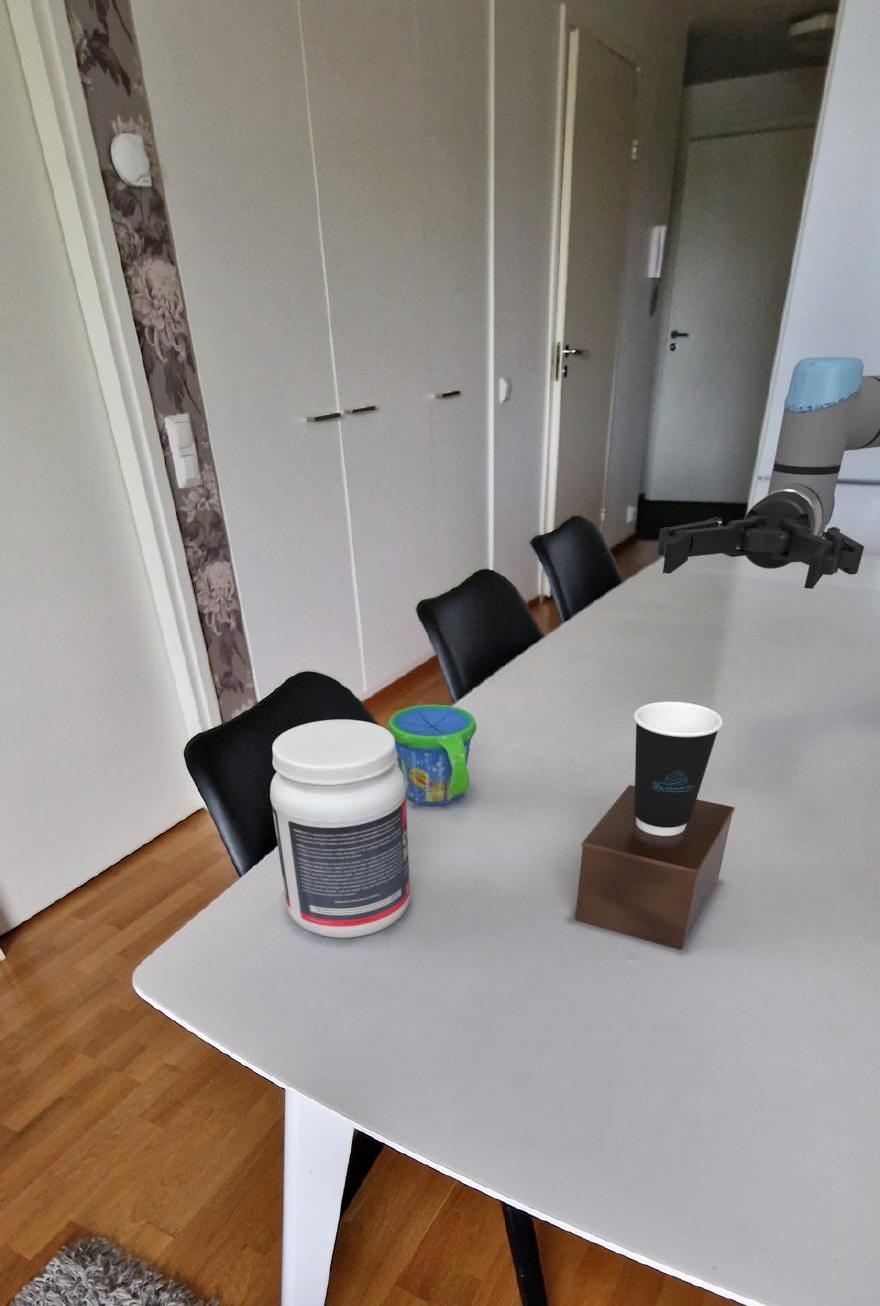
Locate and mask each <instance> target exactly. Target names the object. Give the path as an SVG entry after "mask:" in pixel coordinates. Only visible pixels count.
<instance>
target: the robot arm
mask: <svg viewBox="0 0 880 1306" xmlns="http://www.w3.org/2000/svg"><path fill="white" fill-rule="evenodd" d="M864 368H865V363H864V361H863V360H862V359H861V358H859V357H844V356H842V357H841V356H839V357H838V356H833V357H832V356H829V357H828V356H827V357H805V358H801V360H799V361H797V363H796V364H795V366H794V368H793V370H792V374H791V379H790V382H789V387H788V391H787V395H786V396H785V399H784V403H783V406H784V407H783V412H782V419H781V424H780V429H779V433H778V434H779V435H778V439H777V445H776V451H775V455H774V461H773V467H772V470H771V475H770V479H769V485H768V490H767V494H766V495H765V496H764V497H763V498H762V499H760V500H759V501H758V502H757V503H755V504H754V505H753V506H752V507H751V508H750V509H749V510H748V512H747V513H746V515H745V516H744V518H743V519H737V520H730V521H729V522H728V523H727V524H726V525H725V526H723V519H722V518H721V517H718V516H714V517H712V518H709V519H706V520H703V521H697V522H692V523H685V524H678V525H673V526H666V527H665V526H664V527H661V528H660V529H659V536H658V543H657V544H658V545H657V551H656V552H657V555H658V556H661V557H663V558H664V559H663V567H662V574H668V575H669V574H672V573H673V572H675V571H676V570H677V569H678V568H680V567H681V566H683V565H684V564H685V563H687V562H688V561H689V558H690V557H700V556H701V557H702V556H709V555H720V554H723V555H724V556H727V557H730V558H735V557H736V558H737V557H745V558H746V559H747V560H748V561H749V562H750V563H752V564H753V565H755V566H757V567H759V568H762V569H767V570H768V569H769V570H772V569H779V568H783V567H786V566H787V565H790V564H791V563H802V564H804V565H807V566H808V570H807V574H806V578H805V582H804V586H803V588H804V589H808V590H809V589H810V590H813V589H814V587H815V586H816V585H817V584H818V582H819V581H820V580H821V578H822V576H825V575H826V576H832V575H834V574H837V573H838V570H841V571H842V572H843V573H844V574H847V575H856V574H858V572H859V568H860V566H861V560H862V557H863V553H864V549H865V546H864V545H863V544H861V543H860V542H858V541H856V540H854V539H853V538H851V537H849V536H847V535H846V534H843V532H841V528H839V527H836V526H831V527H828V528H827V529H826V527H827V525H828V524H830V522H831V520H832V517H833V513H834V509H835V506H836V497H835V492H836V487H837V484H838V479H839V474H840V472H841V468H842V464H843V463H842V462H843V459H844V455H845V452H847V451H858V450H863V449H864V450H865V449H872V448H880V374H878V375H877V374H876V375H863V374H864Z"/></svg>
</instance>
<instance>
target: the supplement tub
mask: <svg viewBox="0 0 880 1306" xmlns="http://www.w3.org/2000/svg"><path fill="white" fill-rule="evenodd" d="M271 748H272V749H271V751H272V760H271V761H272V767H273V769H274V770H275V771H276V772H275V774H274V775H273V777H272V779H271V782H270V788H269V789H270V790H269V792H270V793H269V798H270V802H271V808H272V815H273V822H274V828H275V835H276V843H277V847H278V856H279V857H278V858H279V862H280V870H281V877H282V883H283V891H284V897H285V907H286V909H287V911H288V913H289V915H290V917H291V919H292V920H293V921H294V922H295V923H296V924H297V925H298V926H300V928H303V929H304V930H306V931H308V932H310V933H313V934H316V935H318V936H323V937H327V938H337V939H349V938H350V939H351V938H358V937H363V936H367V935H371V934H373V933H377V932H379V931H381V930H384V929H386V928H388V927H389V926H391V925H392V924H394V923H395V922H397V921H398V920H399V919H400V918H401V917H402V916H403V914H404V913H405V912H406V910H407V908H408V906H409V903H410V900H411V887H410V886H411V885H410V861H409V837H408V814H407V812H408V810H407V809H408V808H407V797H406V783H405V779H404V776H403V773H402V771H401V770H400V768H399V767H398V764H397V763H396V762H397V751H396V744H395V738H394V736H393V735H392V734H391V733H390V731H389V729H388V728H387V729H386V728H385V727H383V726H381V725H379V724H377V723H376V724H375V723H373V722H369V721H364V720H357V719H325V720H317V721H312V722H308V723H304V724H300V725H297V726H295V727H292V728H290V729H288V730H286V731H284V732H282V733H281V734H280V735H278V736H277V737H276V738H275V740H274V741H273V743H272V747H271Z"/></svg>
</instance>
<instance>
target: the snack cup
mask: <svg viewBox="0 0 880 1306" xmlns="http://www.w3.org/2000/svg"><path fill="white" fill-rule="evenodd" d="M387 730H388V731H389V732H390V733H391V734H392V735H393V736H394V738H395V744H396V751H397V760H396V762H397V766H398V767H399V768H400V770H401V771H402V773H403V776H404V779H405V783H406V799H408V800H410V801H413V802H414V803H415V804H416V805H417V806H421V805H425V806H431V807H434V806H447V805H448V804H449V803H452V802H454V801H456V800H457V799H458V798H460V796H461V795H462V794H463V793H465V792H466V791H467V790H468V789H469V787H470V777H469V772H468V761H469V755H470V746H471V741H472V739H473V736H474V735H475V733H476V732H477V723H476V719H475V717H474V716H473V715H472V714H471V713H470V712H469V711H467V710H465V709H462V708H459V707H456V706H452V705H445V704H420V705H414V706H409V707H406V708H402V709H400V710H398V711H396V712H395V713H394V714H392V716H391V717H390V718H389V720H388V722H387Z"/></svg>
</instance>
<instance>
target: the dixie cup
mask: <svg viewBox="0 0 880 1306" xmlns="http://www.w3.org/2000/svg"><path fill="white" fill-rule="evenodd" d="M633 719H634V722H635V759H634V760H635V761H634V762H635V765H634V786H635V801H634V813H635V816H636V824H637V826H638V827H639V828H640V829H641V830H643V831H645V832H647V833H650V834H654V835H660V836H671V835H676V834H679V833H681V832H683V831H684V829H685V827H686V824H687V822H689V820H690V818H691V815H692V812H693V809H694V806H695V802H696V799H698V796H699V793H700V790H701V786H702V784H703V779H704V778H705V777H704V776H705V773H706V770H707V768H708V767H707V766H708V764H709V760H710V758H711V755H712V751H713V747H714V744H715V741H716V738H717V735H718V732H719V730H721V728H722V727H723V725H724V720H723V717H722V716H721V714H719V713H718V712H717V711H715V710H713V709H711V708H709V707H706V706H703V705H700V704H696V703H692V702H691V703H690V702H684V701H658V702H651V703H647V704H644V705H642V706H639V707H638V708H637V709H636V710H635V711H634V713H633Z"/></svg>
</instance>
